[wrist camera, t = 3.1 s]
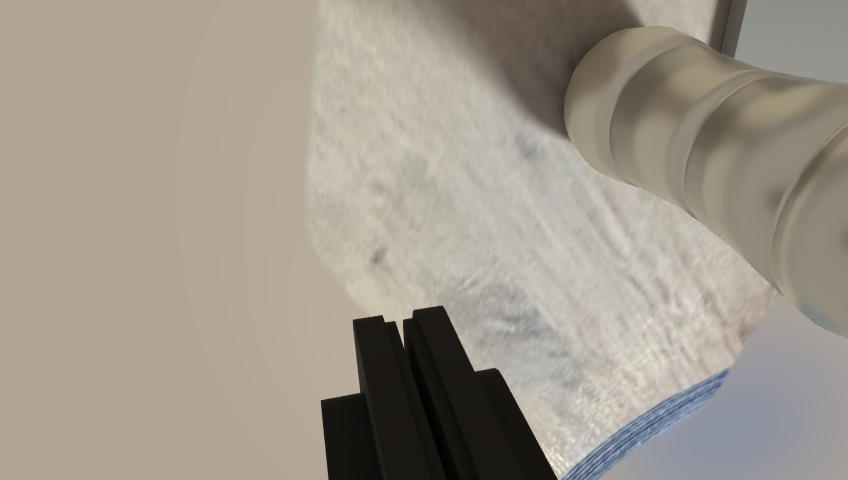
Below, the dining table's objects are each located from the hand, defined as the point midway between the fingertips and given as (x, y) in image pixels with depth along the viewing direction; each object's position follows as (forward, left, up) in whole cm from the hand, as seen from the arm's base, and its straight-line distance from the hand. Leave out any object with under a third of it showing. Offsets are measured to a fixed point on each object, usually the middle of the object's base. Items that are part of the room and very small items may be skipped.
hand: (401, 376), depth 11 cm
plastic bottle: (0, +13, -16) cm, 21 cm away
